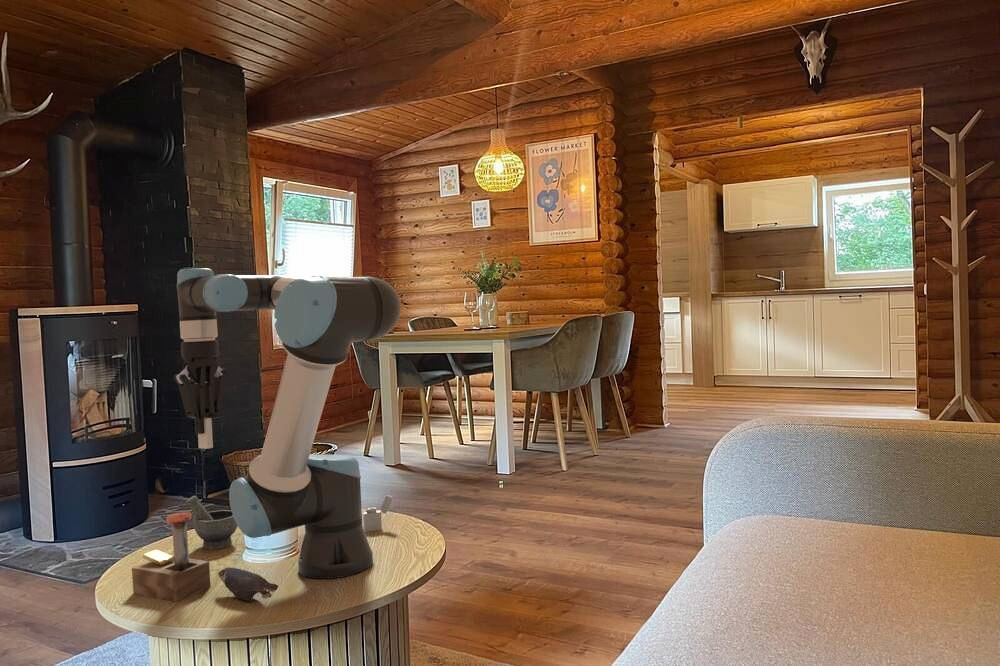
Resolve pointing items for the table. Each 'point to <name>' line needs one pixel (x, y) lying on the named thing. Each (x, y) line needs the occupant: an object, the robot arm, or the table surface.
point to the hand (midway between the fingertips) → (205, 447)
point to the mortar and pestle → (212, 525)
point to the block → (170, 580)
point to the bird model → (246, 583)
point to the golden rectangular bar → (158, 557)
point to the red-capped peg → (180, 539)
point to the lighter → (375, 516)
